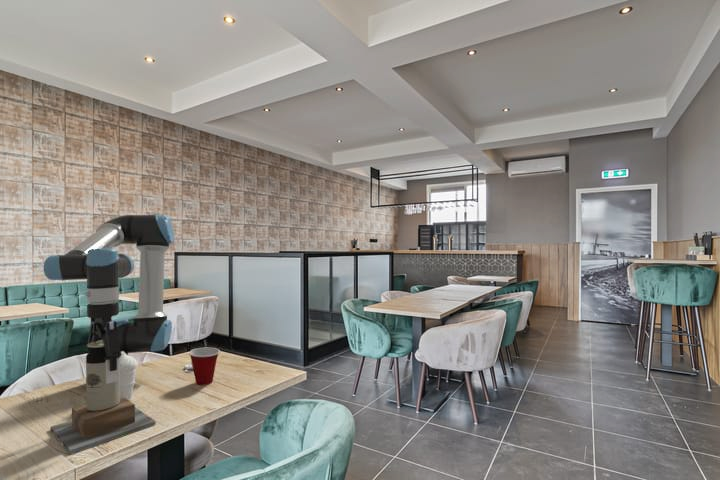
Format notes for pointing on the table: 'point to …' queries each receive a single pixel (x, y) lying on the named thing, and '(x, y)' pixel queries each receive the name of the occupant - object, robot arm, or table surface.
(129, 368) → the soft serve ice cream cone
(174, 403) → the table surface
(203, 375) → the plastic cup
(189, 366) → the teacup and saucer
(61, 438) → the base
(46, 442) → the table surface
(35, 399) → the table surface
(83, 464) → the table surface
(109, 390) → the travel mug
